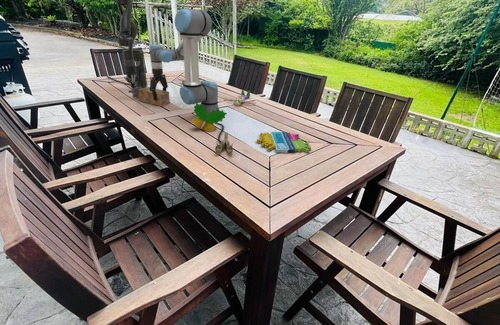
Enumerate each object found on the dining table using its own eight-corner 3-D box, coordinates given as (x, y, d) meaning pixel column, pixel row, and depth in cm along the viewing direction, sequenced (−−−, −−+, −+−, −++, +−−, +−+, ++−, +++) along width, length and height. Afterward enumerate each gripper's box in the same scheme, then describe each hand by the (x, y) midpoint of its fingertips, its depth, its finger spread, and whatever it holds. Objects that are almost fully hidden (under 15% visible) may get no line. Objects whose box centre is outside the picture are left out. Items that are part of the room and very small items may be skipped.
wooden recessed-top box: (139, 101, 203) (138, 89, 199) (149, 98, 211) (148, 86, 207) (161, 106, 197) (160, 94, 192) (169, 103, 205) (169, 91, 200)
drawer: (127, 96, 207) (126, 87, 204) (136, 94, 214) (134, 85, 211) (152, 102, 199) (151, 93, 196) (160, 99, 207) (159, 90, 203)
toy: (261, 91, 228) (254, 99, 202) (261, 99, 231) (253, 108, 205) (231, 87, 233) (220, 95, 207) (230, 95, 236) (219, 104, 210)
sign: (313, 150, 142) (258, 149, 139) (312, 153, 143) (258, 152, 140) (301, 132, 164) (254, 130, 161) (301, 134, 165) (254, 133, 162)
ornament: (218, 133, 171) (224, 110, 169) (221, 134, 163) (227, 111, 161) (186, 125, 162) (192, 101, 160) (189, 126, 155) (195, 101, 153)
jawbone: (234, 135, 144) (233, 125, 135) (233, 160, 138) (232, 151, 129) (217, 135, 144) (216, 125, 135) (216, 160, 138) (214, 150, 129)
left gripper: (132, 63, 205) (136, 85, 214) (119, 65, 194) (123, 89, 203) (139, 64, 203) (143, 87, 211) (126, 67, 192) (130, 90, 201)
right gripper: (163, 65, 200) (166, 94, 211) (141, 69, 181) (145, 100, 192) (171, 66, 197) (173, 95, 208) (150, 71, 179) (153, 102, 190)
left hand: (133, 87), depth 207 cm, fingers closed
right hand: (160, 98), depth 200 cm, fingers closed on wooden recessed-top box, 10 cm apart
